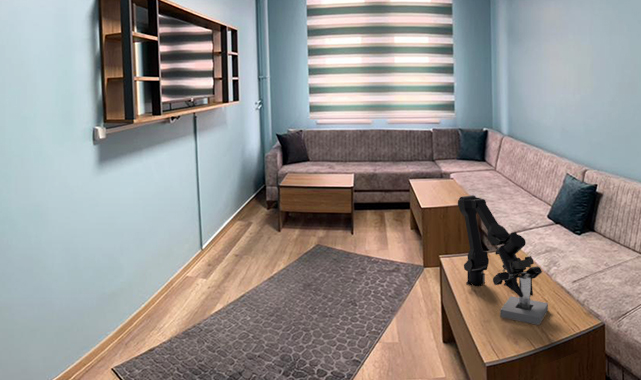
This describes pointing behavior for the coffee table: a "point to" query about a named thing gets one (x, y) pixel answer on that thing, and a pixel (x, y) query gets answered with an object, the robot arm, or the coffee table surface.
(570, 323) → the coffee table surface
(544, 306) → the pocket block
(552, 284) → the coffee table surface
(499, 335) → the coffee table surface
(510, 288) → the robot arm
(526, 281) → the steel peg
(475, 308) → the coffee table surface
